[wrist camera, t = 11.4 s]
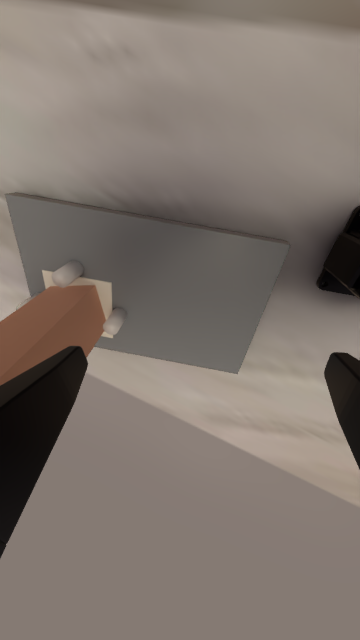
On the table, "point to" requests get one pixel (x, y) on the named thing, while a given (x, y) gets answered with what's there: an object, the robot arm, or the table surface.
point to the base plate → (152, 277)
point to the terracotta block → (49, 327)
